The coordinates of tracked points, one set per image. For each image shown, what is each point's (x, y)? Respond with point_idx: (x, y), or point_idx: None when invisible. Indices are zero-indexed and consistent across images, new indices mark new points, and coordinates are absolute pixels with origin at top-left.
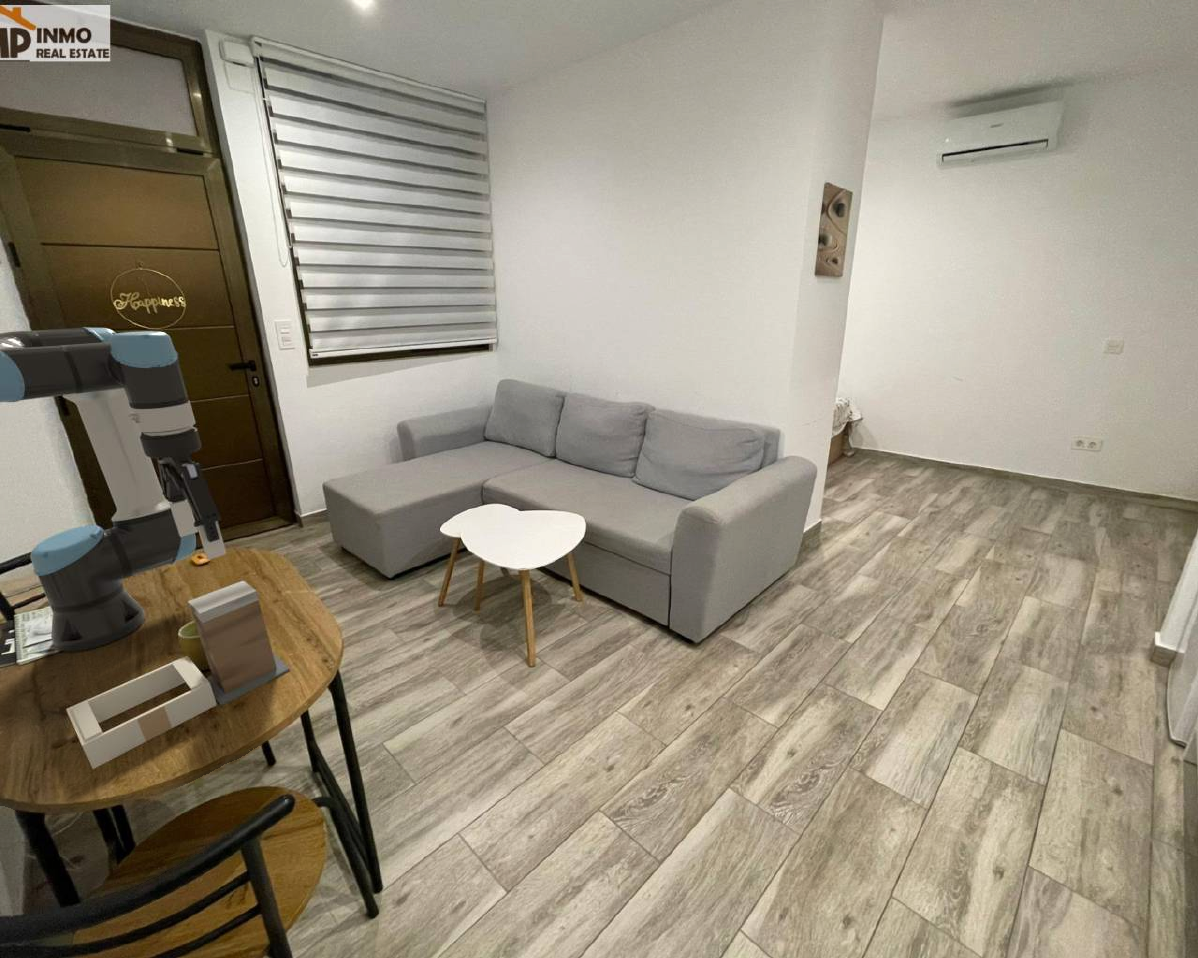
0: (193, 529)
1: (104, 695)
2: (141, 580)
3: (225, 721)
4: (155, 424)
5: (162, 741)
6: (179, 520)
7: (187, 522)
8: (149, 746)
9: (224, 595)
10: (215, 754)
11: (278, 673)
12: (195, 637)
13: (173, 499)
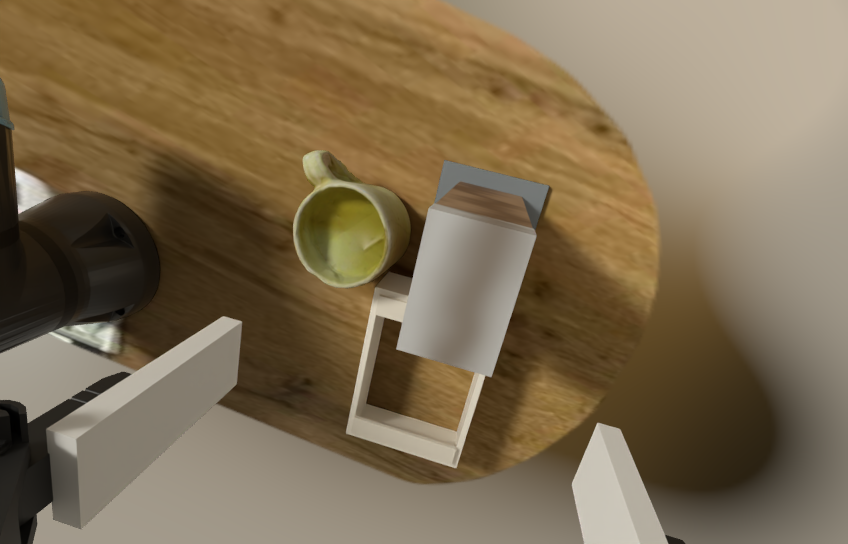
0: (229, 344)
1: (359, 396)
2: None
3: (555, 322)
4: None
5: (499, 380)
6: (179, 426)
7: (197, 382)
8: (490, 391)
9: (463, 292)
10: (607, 371)
11: (540, 206)
12: (373, 278)
13: (27, 517)
